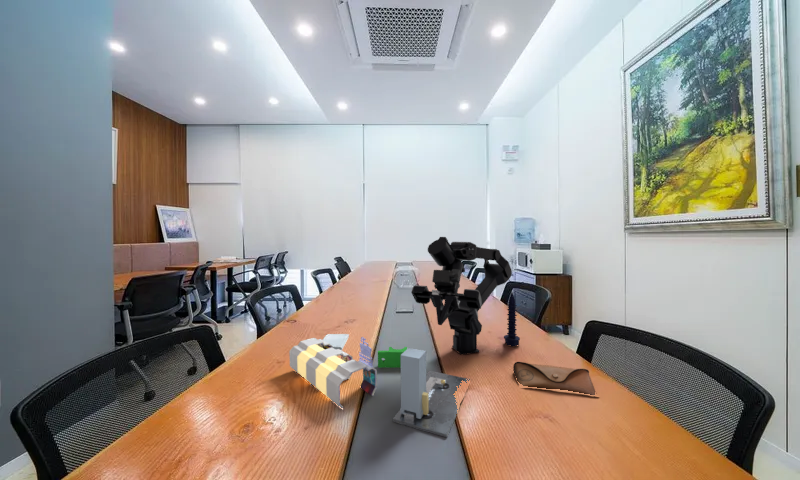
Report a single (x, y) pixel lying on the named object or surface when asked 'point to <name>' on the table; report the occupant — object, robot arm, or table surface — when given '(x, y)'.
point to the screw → (512, 323)
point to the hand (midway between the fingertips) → (439, 324)
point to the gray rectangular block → (414, 383)
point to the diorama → (331, 366)
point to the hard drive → (336, 340)
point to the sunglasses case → (554, 377)
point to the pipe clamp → (390, 358)
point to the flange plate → (435, 405)
